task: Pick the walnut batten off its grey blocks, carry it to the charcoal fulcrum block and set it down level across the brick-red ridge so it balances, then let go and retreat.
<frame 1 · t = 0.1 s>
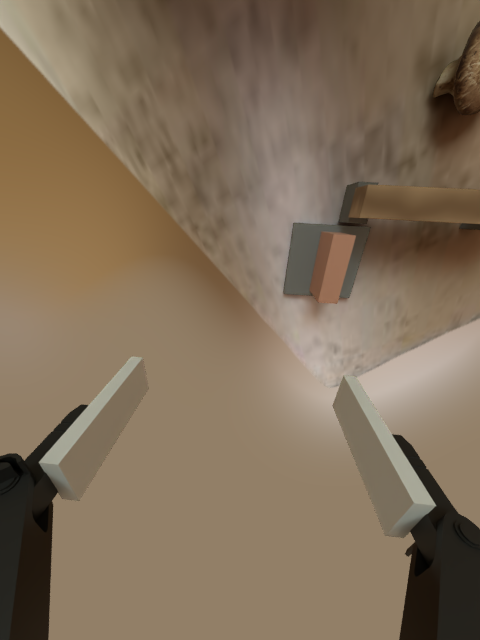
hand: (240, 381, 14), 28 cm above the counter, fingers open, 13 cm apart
rod: (432, 207, 29), point 4 cm above the counter, touching grey blocks
grey blocks: (413, 207, 32), on the counter
mushroom: (458, 82, 26), on the counter
fulcrum: (322, 262, 37), on the counter
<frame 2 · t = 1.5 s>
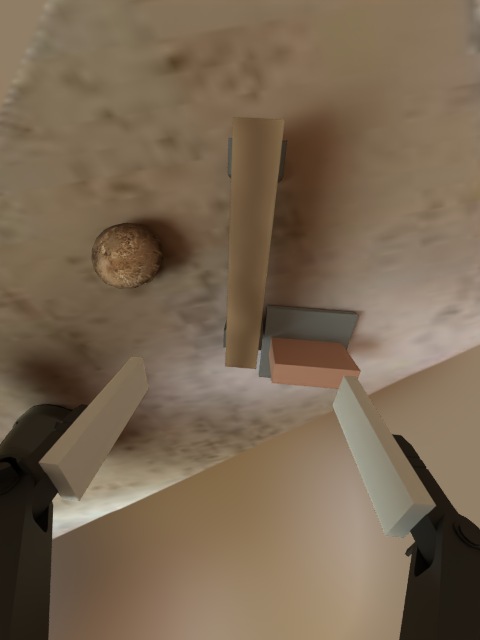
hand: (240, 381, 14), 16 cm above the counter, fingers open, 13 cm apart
rod: (248, 266, 23), point 4 cm above the counter, touching grey blocks
grey blocks: (249, 259, 26), on the counter
mushroom: (141, 251, 27), on the counter
fulcrum: (302, 345, 31), on the counter
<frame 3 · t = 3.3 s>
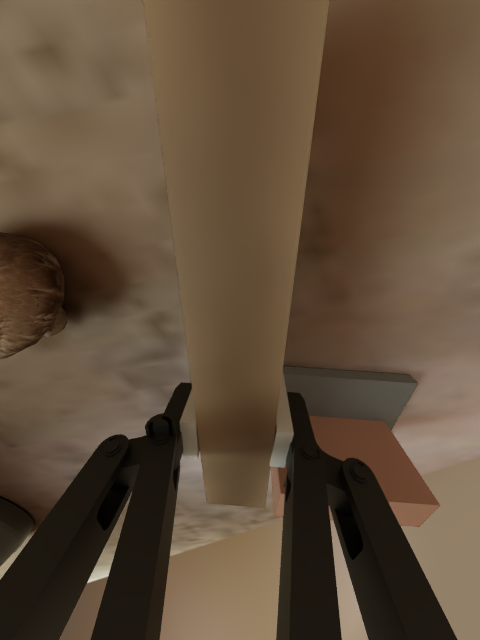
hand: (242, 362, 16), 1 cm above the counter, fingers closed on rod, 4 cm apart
rod: (240, 319, 11), point 4 cm above the counter, touching grey blocks, gripper
mushroom: (40, 280, 15), on the counter
fulcrum: (320, 418, 20), on the counter
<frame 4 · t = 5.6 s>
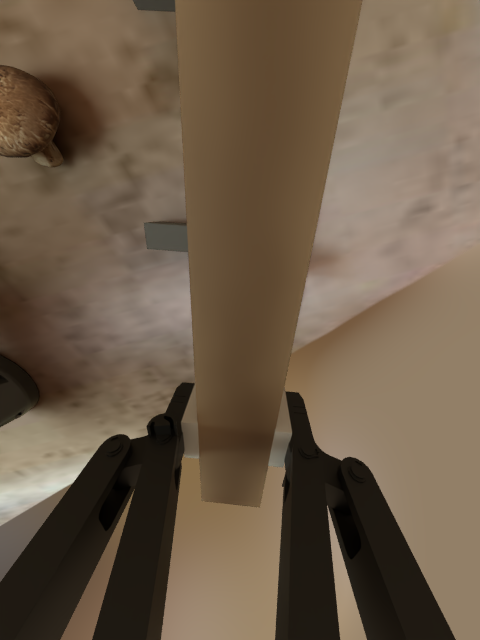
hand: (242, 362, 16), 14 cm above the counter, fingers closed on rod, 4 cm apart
rod: (245, 318, 11), point 17 cm above the counter, touching gripper
grey blocks: (174, 135, 21), on the counter
mushroom: (45, 128, 22), on the counter
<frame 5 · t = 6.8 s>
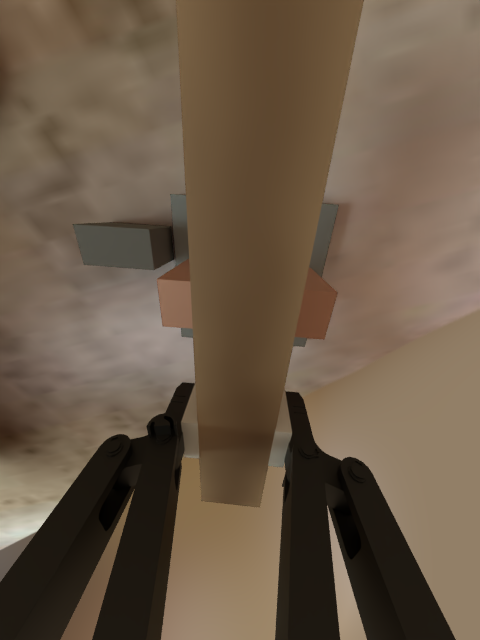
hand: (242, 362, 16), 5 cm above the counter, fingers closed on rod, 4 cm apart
rod: (245, 318, 11), point 8 cm above the counter, touching gripper
grey blocks: (120, 83, 13), on the counter
fulcrum: (247, 278, 18), on the counter
when the fingers open (4 cm above the counter, at t = 7.2 s): rod stays where it is, resting on fulcrum.
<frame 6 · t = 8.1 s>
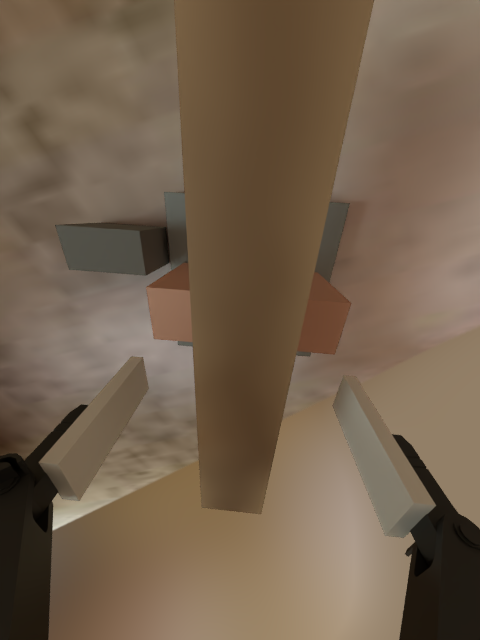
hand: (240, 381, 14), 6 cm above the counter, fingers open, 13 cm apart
rod: (246, 321, 11), point 7 cm above the counter, touching fulcrum
grey blocks: (108, 68, 12), on the counter
fulcrum: (248, 283, 17), on the counter
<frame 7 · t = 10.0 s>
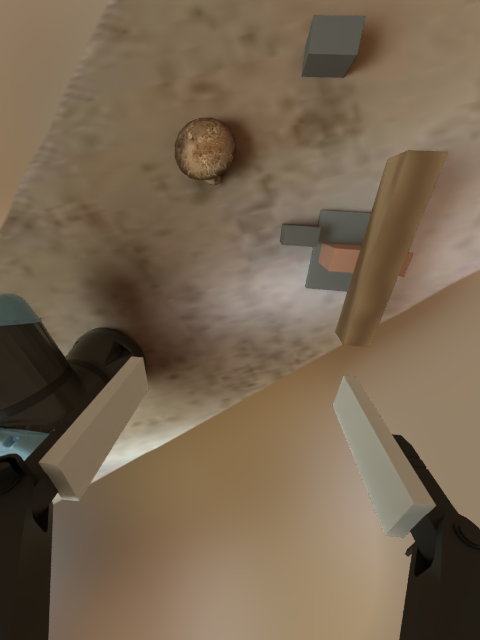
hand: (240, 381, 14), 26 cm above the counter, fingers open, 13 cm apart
rod: (370, 262, 28), point 7 cm above the counter, touching fulcrum
grey blocks: (308, 160, 29), on the counter
mushroom: (210, 156, 30), on the counter
fulcrum: (349, 253, 34), on the counter
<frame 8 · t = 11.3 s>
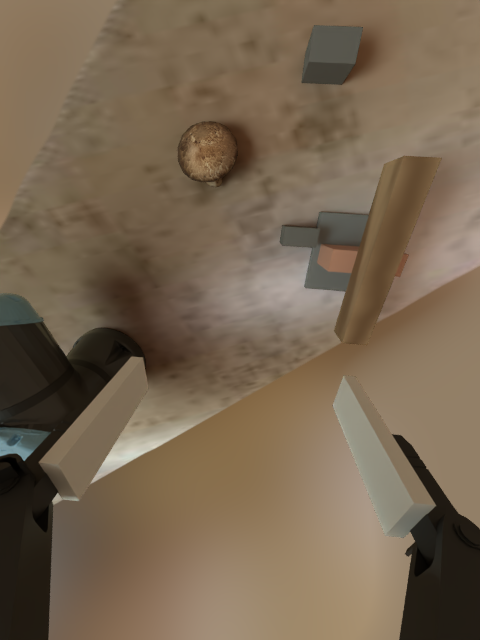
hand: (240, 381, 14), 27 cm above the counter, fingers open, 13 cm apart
rod: (368, 262, 29), point 7 cm above the counter, touching fulcrum
grey blocks: (308, 163, 30), on the counter
mushroom: (211, 159, 31), on the counter
fulcrum: (347, 254, 35), on the counter
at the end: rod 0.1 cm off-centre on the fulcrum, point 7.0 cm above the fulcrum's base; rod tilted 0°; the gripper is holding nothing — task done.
